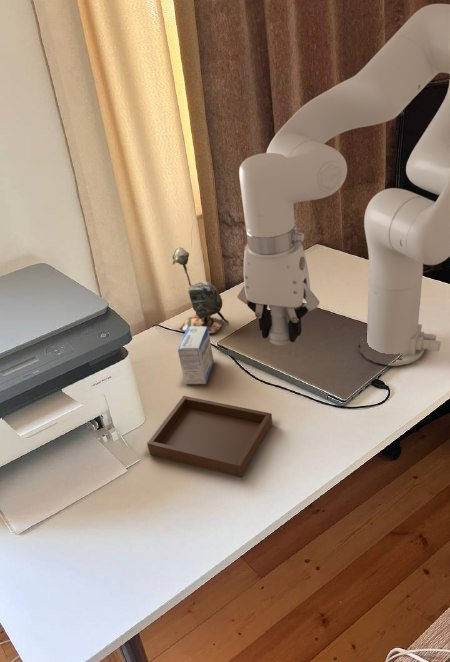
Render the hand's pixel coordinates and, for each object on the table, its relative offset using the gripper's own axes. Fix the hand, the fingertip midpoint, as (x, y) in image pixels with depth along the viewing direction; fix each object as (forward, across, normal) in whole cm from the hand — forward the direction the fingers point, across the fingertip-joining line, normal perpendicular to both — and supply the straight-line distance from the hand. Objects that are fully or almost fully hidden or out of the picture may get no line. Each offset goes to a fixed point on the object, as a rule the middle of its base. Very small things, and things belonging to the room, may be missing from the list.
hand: (281, 334), depth 109 cm
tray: (+13, +8, +15) cm, 22 cm away
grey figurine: (+14, +25, -17) cm, 33 cm away
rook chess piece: (+1, 0, 0) cm, 1 cm away
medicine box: (+14, +19, -2) cm, 24 cm away
